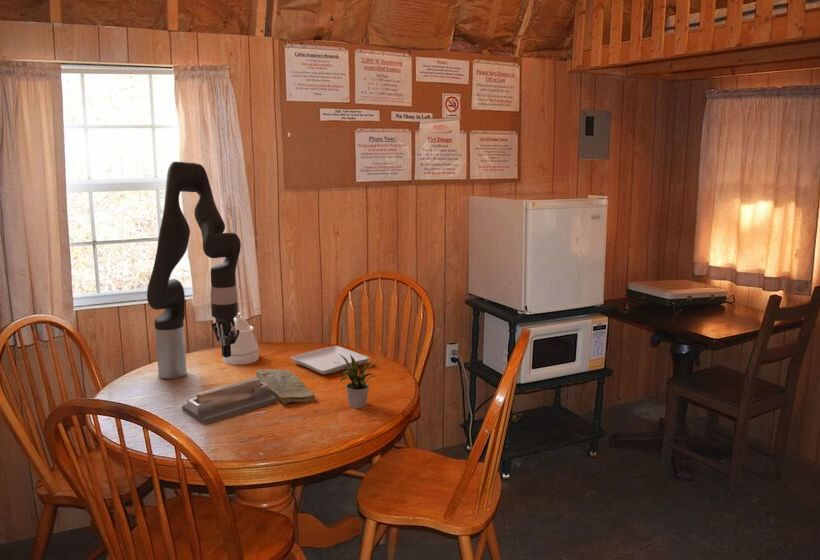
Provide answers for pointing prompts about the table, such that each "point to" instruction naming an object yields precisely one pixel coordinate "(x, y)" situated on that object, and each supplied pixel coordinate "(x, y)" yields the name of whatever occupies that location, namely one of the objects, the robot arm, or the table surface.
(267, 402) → the base board
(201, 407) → the end caps
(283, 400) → the stone slab
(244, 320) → the honey pot
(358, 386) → the house plant
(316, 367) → the salad plate
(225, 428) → the table surface
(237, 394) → the slat
